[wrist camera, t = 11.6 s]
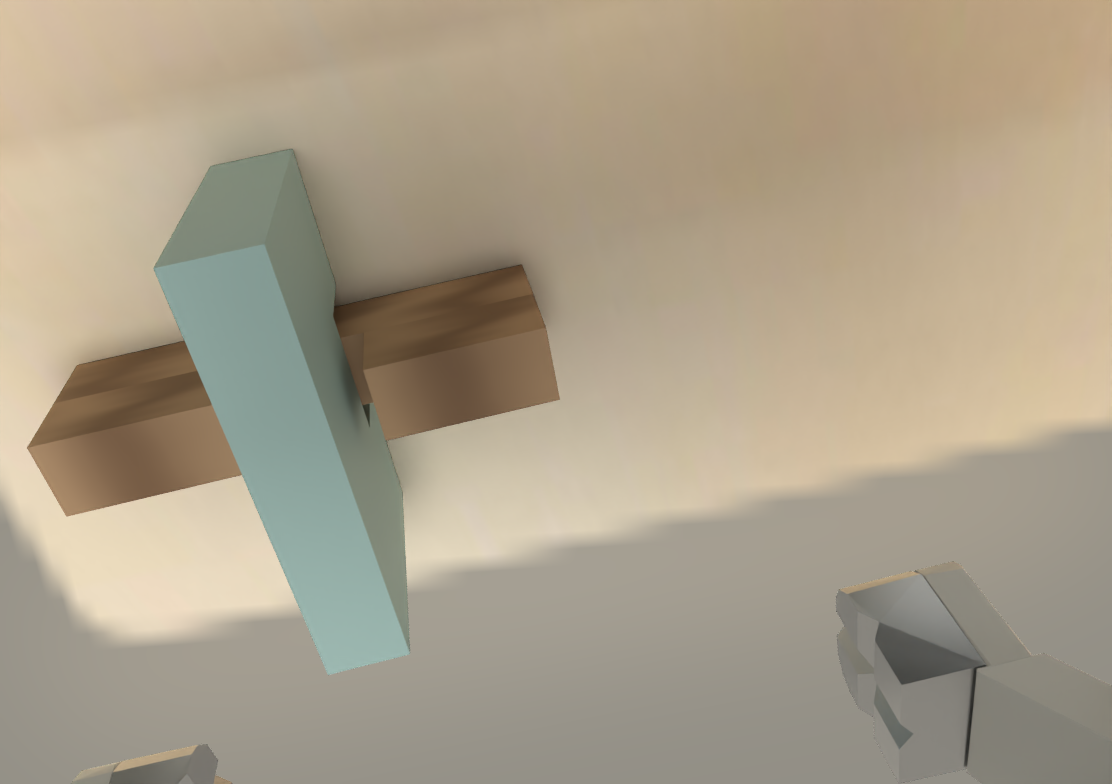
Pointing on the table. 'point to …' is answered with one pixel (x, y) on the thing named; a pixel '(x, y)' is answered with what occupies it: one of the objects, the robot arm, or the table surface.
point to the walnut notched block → (376, 365)
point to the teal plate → (292, 402)
